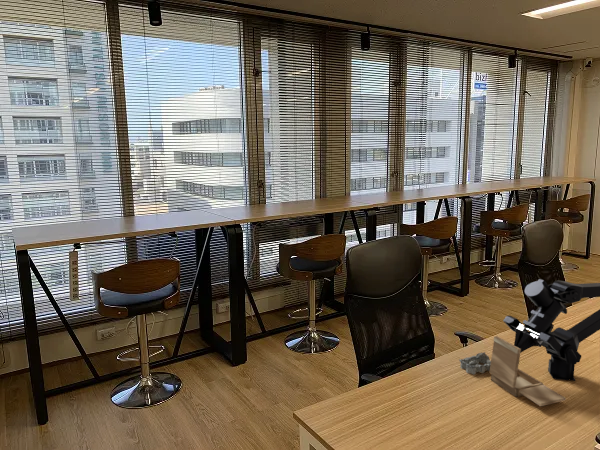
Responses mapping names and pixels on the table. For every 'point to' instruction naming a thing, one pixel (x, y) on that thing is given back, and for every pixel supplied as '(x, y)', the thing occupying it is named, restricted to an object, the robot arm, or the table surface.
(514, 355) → the flap
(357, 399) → the table surface
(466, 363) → the egg carton
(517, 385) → the carton
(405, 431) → the table surface
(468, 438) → the table surface
